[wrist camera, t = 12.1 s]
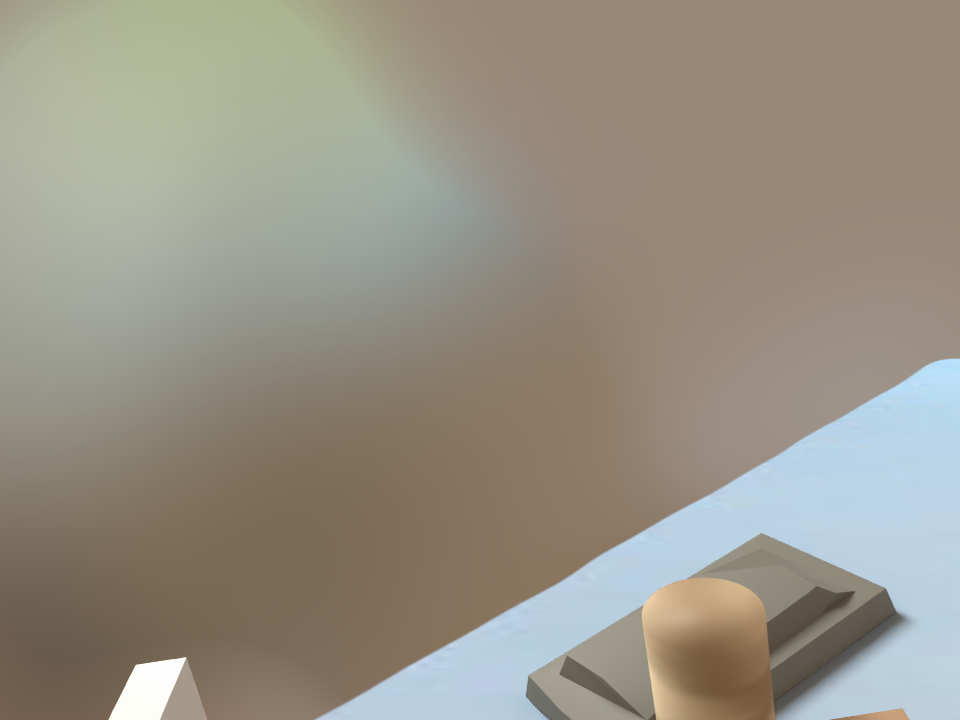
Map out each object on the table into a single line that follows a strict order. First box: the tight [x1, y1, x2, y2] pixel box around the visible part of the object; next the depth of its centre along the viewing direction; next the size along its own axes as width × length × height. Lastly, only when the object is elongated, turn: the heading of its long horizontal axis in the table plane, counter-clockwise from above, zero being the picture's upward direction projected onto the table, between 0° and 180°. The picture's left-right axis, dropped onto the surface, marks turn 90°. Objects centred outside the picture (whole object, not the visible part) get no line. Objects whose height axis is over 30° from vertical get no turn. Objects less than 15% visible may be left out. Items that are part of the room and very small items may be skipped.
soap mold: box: [526, 533, 896, 720], centre depth 51 cm, size 10×20×4 cm, turn 122°
